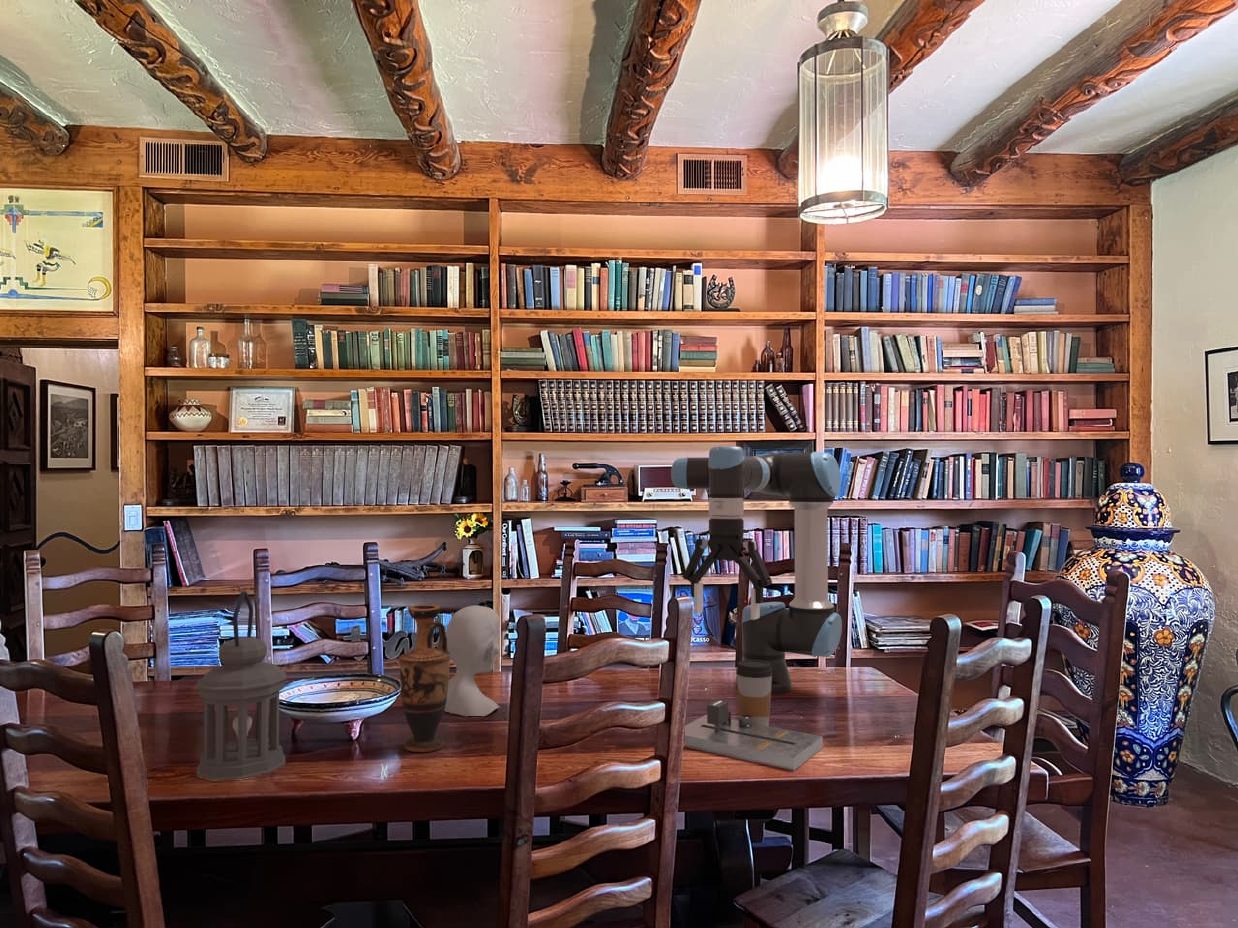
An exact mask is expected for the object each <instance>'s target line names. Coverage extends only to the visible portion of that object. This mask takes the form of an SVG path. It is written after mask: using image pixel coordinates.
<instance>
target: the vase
mask: <svg viewBox="0 0 1238 928" xmlns="http://www.w3.org/2000/svg"><path fill="white" fill-rule="evenodd" d="M441 608H442V607H441V606H440V605H436V604H417V605H411V606H409V607H407V610H408V613H409V615H410V617H411V619H413V620H414V621H415V623H416V645H415V647H414V649H413V650H412V651H411V650H410V652H405V653H403V654H400V655H399V656H398V664H399V675H400V676H399V677H400V688H401V689H400V691H401V695H400V696H401V701H402V708H403V714H404V717H405V719H406V722H407V724H408V727H409V729H410V731H411V733H412V737H411V738H409V739H407V740H406V741H405V743H404V749H405V750H406V751H408V752H412V753H422V754H423V753H430V752H432V753H433V752H436V751H438V750H441V749H442V748H443V747H445V744H446V742H445V739H444V738H443V737H442V736H440V735H436V734H437V730H438V728H439V725H440V723H441V721H442V718H443V715H444V713H445V712H444V710H445V706H446V701H447V694H448V682H449V680H450V665H451V664H450V663H451V658H450V656H451V655H450V653H449V651H448V648H447V637H446V632H447V631H446V628H445V625H444V624H443V623H442V622H441V621H440V622H439V621H438V620H435V619H436V618H438V615H439V613H440V612H441ZM437 628H438V635H439V636H438V637H439V639H438V644H437V646H436V647H435V646H434V634H435V631H436V629H437Z"/></svg>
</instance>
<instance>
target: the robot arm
mask: <svg viewBox="0 0 1238 928" xmlns="http://www.w3.org/2000/svg"><path fill="white" fill-rule="evenodd" d="M708 452H709V453H708V457H688V456H687V457H680V458H677V459H675V460H674V462H673V463H672V465H671V471H670V474H671V475H670V477H671V481H672V484H673V485H674V487H676V488H677V489H679V490H680V489H681V490H708V515H709V516H710V517H711V518H709V520H708V534H709V535H708V536H709V537H708V539H706V538H703V537H702V538H697V539H695V546H694V551H693V553H692V554H691V557H690V560H689V561H688V563H687V566H686V567H685V569H684V570H685V571H684V572H683V574H682V578H683V580H686V581H688V582H689V583H690V595H691V598H693V603H694V604H693V608H694V609H693V613H694V614H700V613H704V582H701V580H702V578H703V577H704V576H705V575H706V573H707V572H708V571H709V569H710V568H711V567H712V566H713V565H714V564H715V562H717V561H725V562H734V563H735V564H737V566H738V567H739V568H740V569H741V570H742V571H743V574H744V575H745V577H747V579H748V580H749V581H750V583H751V584H752V586H753V587H752V588H750V604H748V605H746V606H744V607H743V609H742V616H741V617H742V619H741V626H742V627H741V628H742V629H741V631H742V632H741V633H742V634H741V636H742V638H741V642H742V643H741V644H742V648H741V649H742V655H741V656H742V657H741V661H744V660H760V661H765V662H768V663H770V666H771V668H772V673H773V675H772V680H771V695H777V694H783V693H788V692H790V691H791V690H792V686H793V684H792V678H791V674H790V672H789V668H788V665H787V661H786V653H788V654H797V655H804V656H811V657H813V658H817V657H821V658H828V657H831V656H832V655H833V654H835V652H836V650H837V648H838V646H839V644H840V641H841V636H842V630H843V622H842V617H841V615H840V614H838V613H837V612H835V610H834V609H835V605H834V604H833V603H832V602H831V600H829V587H828V585H829V576H828V575H829V571H828V570H829V569H828V568H829V565H828V564H829V563H828V559H829V555H828V554H829V553H828V541H829V539H828V533H829V532H828V529H829V528H828V527H829V526H828V509H829V508H830V507H831V506H832V505H833V504H834V498H835V497H838V496H839V494H840V493H841V488H842V475H841V470H840V467H839V464H838V462H837V459H836V458H835V457H834V456H833V455H832V454H831V453H829V452H822V451H813V452H812V451H811V452H807V451H806V452H775V453H769V454H764V455H758V456H757V455H755V456H754V455H753V456H744V450H743V448H742V447H741V446H730V445H728V446H727V445H726V446H713V447H711V448H710V449H709V451H708ZM744 491H748V492H751V493H754V492H755V493H763V494H768V495H775V496H788V503H789V504H790V505H791V507H792V508H793V509H794V598H793V600H791V601H790V602H789V604H788V608H786V603H784V602H783V601H782V602H781V601H769V602H767V601H766V602H764V588H765V587H767V586H771V585H772V584H773V580H772V577H771V576H770V574H769V572H768V570H767V567H766V565H765V563H764V561H763V558H762V556H761V553H760V552H759V543H758V542H757V540H750V541H745V539H744V533H745V529H744V527H745V526H744V525H745V524H744V519H743V518H742V517H743V516H744V513H745V512H744V510H745V509H744V507H745V506H744ZM707 547H708V548H709V550H710V551H709V553H708V554H707V556H706V557H705V559H704V561H703V562H702V563H701V564H700V562H701V560H702V557H703V556H704V553H705V549H707ZM744 549H745V550H746V552H748V555H749V558H750V559H751V562H752V564H753V567H752V565H751V563H750V562H749V561H748V559H747V556H745V554H744V553H743V551H744ZM699 564H700V566H699ZM698 566H699V567H698ZM735 687H736V688H737V689H738V680H737V676H736V677H735Z"/></svg>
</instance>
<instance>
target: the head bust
mask: <svg viewBox="0 0 1238 928" xmlns="http://www.w3.org/2000/svg"><path fill="white" fill-rule="evenodd" d="M445 632H446V637H447V648H448V651H449V653H450V655H451V656H450V660H451V661H453V663H454V664H455V667H456V671H455V674H454V676H453V677H451V678H449V682H448V694H447V701H446V706H445V710H444V711H445V712H444V713H446V712H449V713H448V714H454V715H459V716H464V717H468V716H482V717H485V716H488V715H490V714H491V713H493V712H494V711H495V710H496V709H499V708H500V706H499V705H498V704H497V702H496V701H494V700H493V699H491V698H489V697H488V696H485V695H484V694H483V693H482V692H481V690H480V689H479V687H478V686H477V684H476V682H475V678H474V677H475V675H476V674H478V673H490V672H492V670H493V669H494V663H495V661H496V658H497V655H498V654H499V653H500V651H501V648H500V645H499V644H498V642H499V638H500V617H499V615H498V614H497V613H496V611H495V610H494V609H492V608H490V607H488V606H482V605H470V606H466V607H463V608H461V609H459V610H457V611H456V612H455V613H454V614H453V615H452V616H451V618H450V620H449V622H448V625H447V628H446V631H445Z"/></svg>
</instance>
